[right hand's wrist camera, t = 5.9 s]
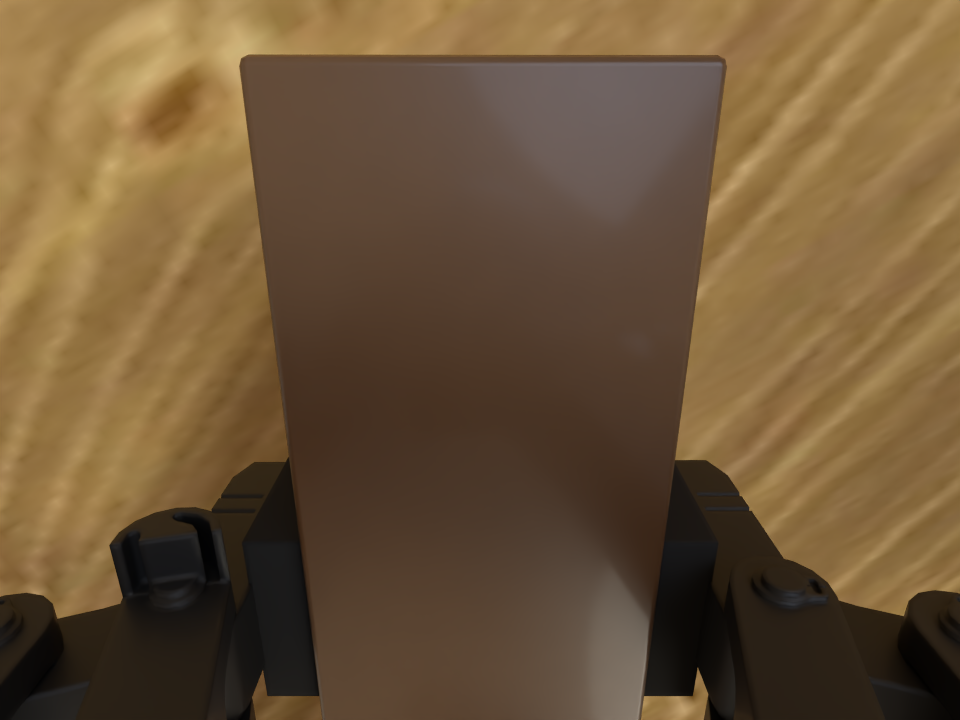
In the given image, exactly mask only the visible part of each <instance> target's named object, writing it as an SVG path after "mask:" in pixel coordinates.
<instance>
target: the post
mask: <svg viewBox="0 0 960 720" xmlns="http://www.w3.org/2000/svg"><path fill="white" fill-rule="evenodd" d="M239 67H240V75H241V82H242V90H243V98H244V106H245V114H246V122H247V130H248V138H249V145H250V153H251V161H252V169H253V177H254V185H255V193H256V201H257V208H258V216H259V224H260V232H261V240H262V248H263V256H264V263H265V271H266V279H267V287H268V295H269V303H270V311H271V319H272V326H273V334H274V342H275V350H276V358H277V366H278V374H279V382H280V389H281V397H282V405H283V413H284V421H285V429H286V437H287V445H288V452H289V460H290V468H291V476H292V484H293V492H294V500H295V507H296V515H297V523H298V531H299V539H300V547H301V555H302V563H303V570H304V578H305V586H306V594H307V602H308V610H309V618H310V626H311V633H312V641H313V649H314V657H315V665H316V673H317V681H318V688H319V696H320V704H321V712H322V720H641V714H642V707H643V699H644V692H645V684H646V676H647V669H648V661H649V654H650V646H651V638H652V631H653V623H654V616H655V608H656V600H657V593H658V585H659V578H660V570H661V562H662V555H663V547H664V540H665V532H666V524H667V517H668V509H669V502H670V494H671V486H672V479H673V471H674V464H675V456H676V448H677V441H678V433H679V426H680V418H681V410H682V403H683V395H684V388H685V380H686V372H687V365H688V357H689V350H690V342H691V334H692V327H693V319H694V312H695V304H696V296H697V289H698V281H699V274H700V266H701V258H702V251H703V243H704V236H705V228H706V220H707V213H708V205H709V197H710V190H711V182H712V175H713V167H714V159H715V152H716V144H717V137H718V129H719V121H720V114H721V106H722V99H723V91H724V83H725V76H726V68H727V66H726V61H725V59H724V58H722V57H720V56H718V55H247V56H245V57H243V58H241V62H240V66H239Z"/></svg>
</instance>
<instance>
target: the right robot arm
mask: <svg viewBox="0 0 960 720" xmlns="http://www.w3.org/2000/svg"><path fill="white" fill-rule="evenodd" d="M109 546H110V550H111V553H112V557H113V561H114V565H115V569H116V573H117V576H118V580H119V584H120V588H121V592H122V595H123V599H122V601H121V604H118V605H114V606H111V607H107V608H104V609H100V610H95V611H91V612H86V613H82V614H77V615H73V616H68V617H64V618H59V619H57V616H56V613H55V610H54V607H53V604H52V603H51V602H50V601H49V600H48V599H46V598H45V597H44V596H42V595H36V594H30V593H22V594H13V595H5V596H2V597H0V720H256V718H255V712H254V706H253V700H252V696H253V693H254V691H255V688H256V686H257V683H258V680H259V678H260V675H261V673H262V670H263V672H264V678H265V684H266V689H267V695H268V696H319V688H318V681H317V673H316V665H315V657H314V649H313V641H312V633H311V626H310V618H309V610H308V602H307V594H306V586H305V578H304V570H303V563H302V555H301V547H300V539H299V531H298V523H297V515H296V507H295V500H294V492H293V484H292V476H291V468H290V460H289V457H288V459H287V461H286V462H254V463H253V464H251V465H250V466H248V467H247V468H246V469H244V470H243V471H241V472H240V473H239V474H237V475H236V476H234V477H233V478H232V480H231V481H230V483H229V484H228V486H227V487H226V489H225V490H224V492H223V493H222V495H221V498H219V499H218V501H217V502H216V504H215V505H214V507H213V508H212V512H211V511H208V510H204V509H200V508H196V507H191V508H174V509H169V510H165V511H160V512H156V513H153V514H151V515H149V516H146V517H144V518H142V519H139V520H137V521H135V522H134V523H132V524H131V525H129V526H128V527H126V528H125V529H123V530H122V531H121V532H119V533H118V535H117V536H116V537H115V539H114V540H113V541H112V542H111V544H110V545H109ZM697 668H698V669H699V671H700V674H701V676H702V679H703V681H704V684H705V687H706V689H707V692H708V700H707V706H706V711H705V717H704V720H960V594H958V593H953V592H945V591H937V590H934V591H928V592H922V593H918V594H917V595H915V596H914V597H913V598H912V599H911V600H909V602H908V605H907V608H906V611H905V615H904V616H900V615H895V614H891V613H886V612H882V611H877V610H873V609H868V608H864V607H859V606H855V605H852V604H848V603H845V602H841V601H839V600H838V598H837V596H836V594H835V593H834V591H833V590H832V588H831V587H830V585H829V584H828V583H827V582H826V581H825V580H824V579H822V578H821V577H820V576H819V575H817V574H816V573H815V572H814V571H812V570H810V569H808V568H806V567H804V566H802V565H800V564H798V563H796V562H794V561H790V560H786V559H784V558H783V557H782V555H781V554H780V552H779V551H778V550H777V548H776V547H775V545H774V544H773V542H772V541H771V539H770V538H769V536H768V535H767V533H766V532H765V530H764V529H763V527H762V526H761V524H760V523H759V521H758V520H757V518H756V517H755V515H754V514H753V512H752V511H749V506H748V505H747V504H746V502H745V501H744V499H743V498H742V496H739V492H738V490H737V489H736V487H735V486H734V484H733V483H732V481H731V480H730V478H729V477H728V475H726V474H725V473H723V472H722V471H721V470H719V469H718V468H716V467H715V466H714V465H712V464H711V463H709V462H708V461H706V460H675V464H674V471H673V479H672V486H671V494H670V502H669V509H668V517H667V524H666V532H665V540H664V547H663V555H662V562H661V570H660V578H659V585H658V593H657V600H656V608H655V616H654V623H653V631H652V638H651V646H650V654H649V661H648V669H647V676H646V684H645V692H644V696H693V692H694V686H695V680H696V674H697Z"/></svg>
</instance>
